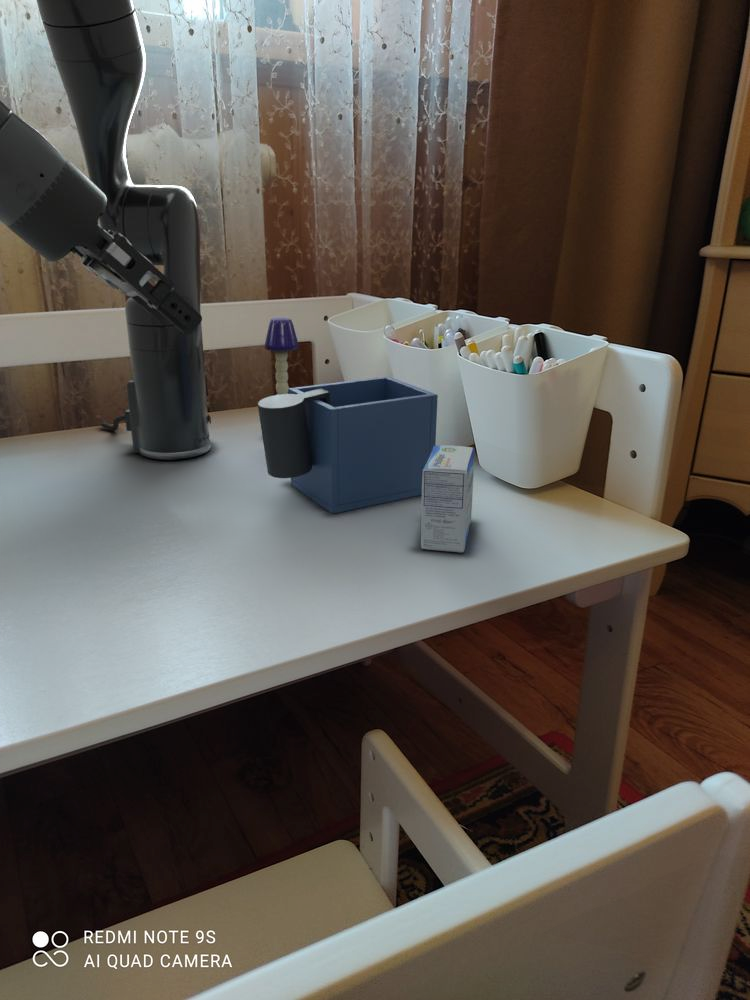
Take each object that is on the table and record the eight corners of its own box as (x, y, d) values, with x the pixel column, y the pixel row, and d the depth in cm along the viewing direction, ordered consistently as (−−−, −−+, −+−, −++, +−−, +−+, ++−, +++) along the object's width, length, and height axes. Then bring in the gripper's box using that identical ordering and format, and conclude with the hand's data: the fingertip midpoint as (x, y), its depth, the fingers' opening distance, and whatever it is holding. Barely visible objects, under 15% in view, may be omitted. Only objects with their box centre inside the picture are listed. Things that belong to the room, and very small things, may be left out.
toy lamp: (265, 433, 112) (260, 317, 106) (296, 430, 114) (293, 315, 108) (272, 442, 108) (267, 322, 102) (304, 439, 110) (301, 320, 103)
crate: (332, 514, 85) (331, 409, 80) (290, 484, 93) (287, 388, 89) (433, 492, 91) (438, 394, 87) (386, 466, 100) (388, 376, 95)
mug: (279, 482, 83) (269, 411, 80) (260, 468, 87) (250, 400, 84) (343, 463, 86) (336, 395, 83) (322, 451, 90) (315, 385, 87)
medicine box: (464, 554, 75) (469, 471, 72) (419, 550, 76) (422, 467, 73) (471, 523, 83) (476, 446, 79) (429, 519, 83) (433, 443, 80)
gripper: (80, 152, 58) (233, 299, 68) (47, 156, 69) (182, 282, 79) (15, 228, 58) (179, 365, 67) (-7, 219, 69) (135, 338, 79)
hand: (180, 320), depth 73 cm, fingers open, 8 cm apart
